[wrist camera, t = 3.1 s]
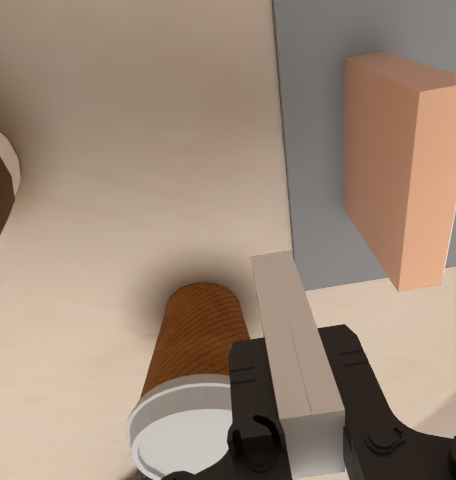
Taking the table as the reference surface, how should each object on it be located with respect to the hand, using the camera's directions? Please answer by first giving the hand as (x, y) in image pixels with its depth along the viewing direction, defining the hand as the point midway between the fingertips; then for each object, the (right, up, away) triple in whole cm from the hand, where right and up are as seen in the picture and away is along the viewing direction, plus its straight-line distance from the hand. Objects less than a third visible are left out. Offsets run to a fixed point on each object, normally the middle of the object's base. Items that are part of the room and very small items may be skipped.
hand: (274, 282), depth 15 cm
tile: (+7, +8, +10) cm, 15 cm away
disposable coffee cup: (-4, -4, +18) cm, 19 cm away
